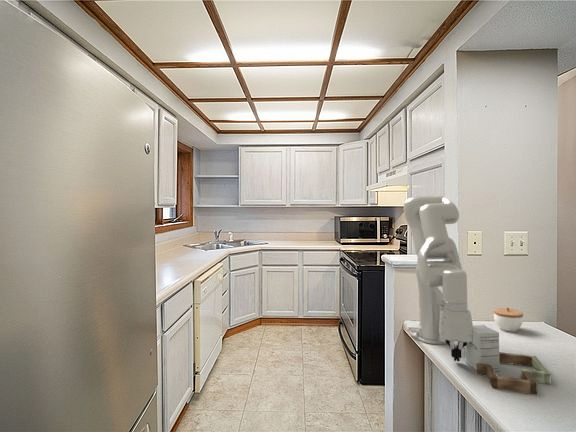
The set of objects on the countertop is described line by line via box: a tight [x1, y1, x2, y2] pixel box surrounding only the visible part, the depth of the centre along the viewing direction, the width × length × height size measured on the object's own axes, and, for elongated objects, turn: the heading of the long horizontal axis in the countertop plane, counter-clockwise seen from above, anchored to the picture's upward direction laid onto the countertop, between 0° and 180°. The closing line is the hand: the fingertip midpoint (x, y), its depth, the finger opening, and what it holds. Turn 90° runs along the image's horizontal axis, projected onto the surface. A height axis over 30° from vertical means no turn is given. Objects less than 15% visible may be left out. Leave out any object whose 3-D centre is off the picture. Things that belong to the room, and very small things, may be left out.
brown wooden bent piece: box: [486, 366, 538, 395], centre depth 98 cm, size 11×8×3 cm
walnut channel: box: [476, 351, 552, 385], centre depth 107 cm, size 19×13×3 cm
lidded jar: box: [493, 307, 524, 333], centre depth 142 cm, size 11×11×9 cm
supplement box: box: [464, 324, 501, 372], centre depth 109 cm, size 7×7×13 cm
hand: (456, 359), depth 112 cm, fingers closed
